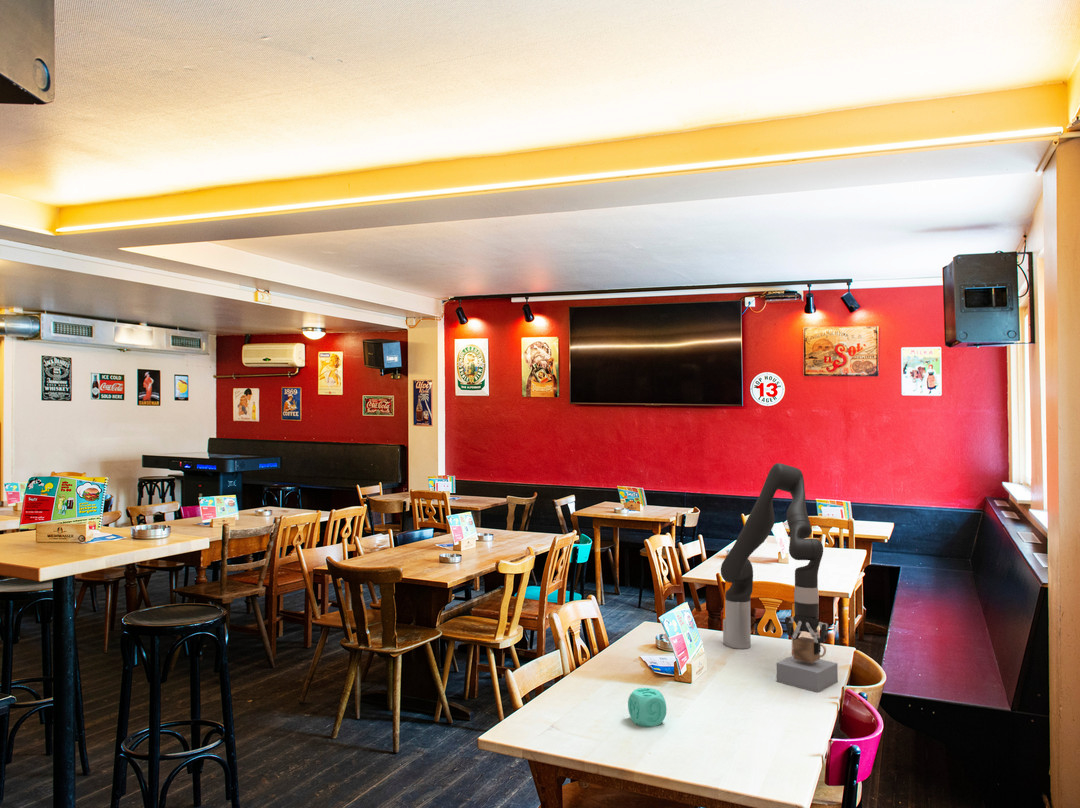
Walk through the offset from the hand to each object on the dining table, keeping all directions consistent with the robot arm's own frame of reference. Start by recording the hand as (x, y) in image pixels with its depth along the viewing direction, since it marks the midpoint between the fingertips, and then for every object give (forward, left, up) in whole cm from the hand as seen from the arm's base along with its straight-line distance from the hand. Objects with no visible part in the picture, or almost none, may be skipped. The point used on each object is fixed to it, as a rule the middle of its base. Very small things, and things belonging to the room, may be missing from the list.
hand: (806, 651), depth 240 cm
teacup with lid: (-9, +20, -10) cm, 24 cm away
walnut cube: (0, 0, -2) cm, 2 cm away
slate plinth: (0, 0, -10) cm, 10 cm away
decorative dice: (-16, -64, -10) cm, 67 cm away
